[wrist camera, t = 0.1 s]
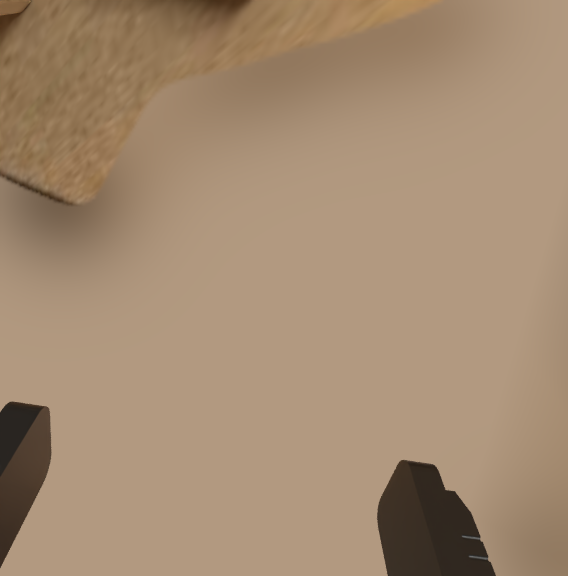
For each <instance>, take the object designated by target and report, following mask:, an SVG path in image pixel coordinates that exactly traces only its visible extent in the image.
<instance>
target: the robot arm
mask: <svg viewBox="0 0 568 576" xmlns="http://www.w3.org/2000/svg"><path fill="white" fill-rule="evenodd" d="M50 460H51V433H50V411H49V408H48V407H46V406H39V405H32V404H25V403H18V402H9V403H8V404H7V405H5V407H4V408H3V409H2V411H1V412H0V568H1V566H2V564H3V562H4V559H5V558H6V556H7V554H8V552H9V550H10V548H11V546H12V544H13V541H14V540H15V538H16V535H17V534H18V532H19V530H20V528H21V526H22V524H23V522H24V520H25V518H26V516H27V514H28V512H29V510H30V508H31V506H32V504H33V502H34V500H35V498H36V496H37V494H38V492H39V490H40V488H41V486H42V484H43V482H44V480H45V478H46V475H47V472H48V469H49V464H50ZM377 520H378V528H379V533H380V539H381V544H382V548H383V554H384V559H385V564H386V569H387V574H388V576H496V575H495V572H494V570H493V567H492V565H491V562H489V561H488V555H487V552H486V549H485V547H484V544H483V542H481V541H480V534H479V532H478V529H477V527H476V524H475V522H474V519H473V517H472V514H471V512H470V511H469V510H468V508H467V507H466V506H465V504H464V503H463V502H462V500H461V499H460V498H459V496H458V495H457V494H456V492H455V491H447V490H445V487H444V485H443V482H442V479H441V476H440V474H439V471H438V469H437V467H435V465H433V464H427V463H421V462H414V461H407V460H401V461H400V462H399V464H398V465H397V467H396V469H395V471H394V473H393V475H392V477H391V479H390V481H389V483H388V485H387V487H386V489H385V491H384V492H383V494H382V496H381V499H380V502H379V505H378V513H377Z"/></svg>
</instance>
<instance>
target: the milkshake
mask: <svg viewBox="0 0 568 576" xmlns="http://www.w3.org/2000/svg"><path fill="white" fill-rule="evenodd" d="M30 2H31V0H0V15H7V14H14V13H20V12H22V11H23V10H24V9H25V8H26V6H27V5H28V4H29V3H30Z"/></svg>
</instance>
